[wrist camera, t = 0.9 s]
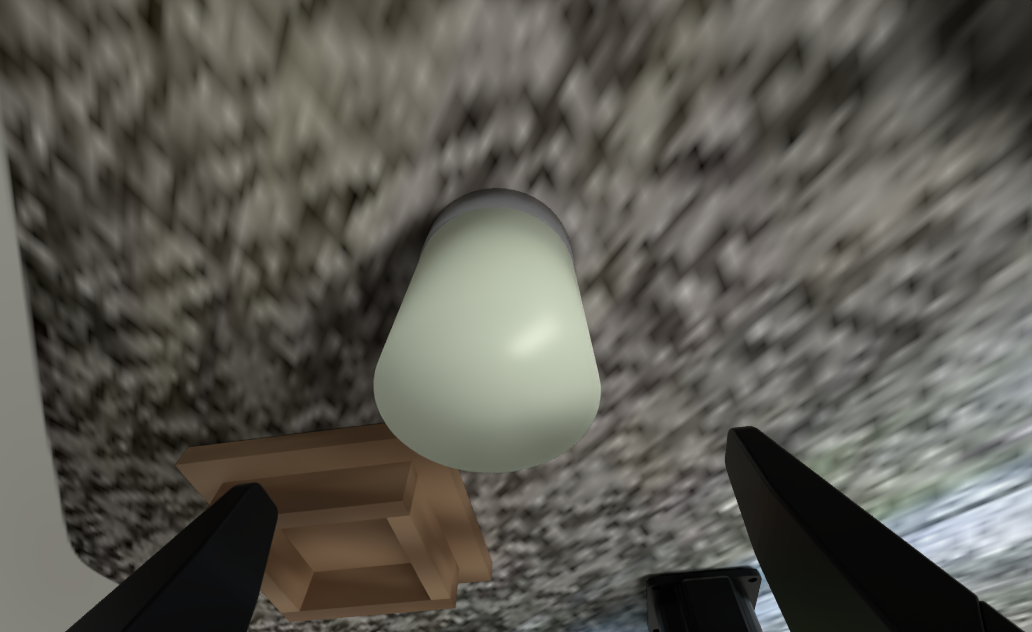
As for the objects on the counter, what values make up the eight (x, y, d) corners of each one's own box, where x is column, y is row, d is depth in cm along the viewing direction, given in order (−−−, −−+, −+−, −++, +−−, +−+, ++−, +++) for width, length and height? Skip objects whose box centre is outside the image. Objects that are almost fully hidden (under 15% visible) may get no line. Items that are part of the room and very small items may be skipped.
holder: (492, 562, 27) (489, 619, 24) (297, 580, 28) (275, 636, 25) (438, 416, 20) (427, 473, 18) (188, 447, 21) (144, 504, 19)
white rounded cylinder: (578, 310, 17) (609, 462, 11) (445, 329, 18) (410, 483, 12) (562, 175, 14) (594, 283, 9) (406, 202, 15) (335, 321, 9)
